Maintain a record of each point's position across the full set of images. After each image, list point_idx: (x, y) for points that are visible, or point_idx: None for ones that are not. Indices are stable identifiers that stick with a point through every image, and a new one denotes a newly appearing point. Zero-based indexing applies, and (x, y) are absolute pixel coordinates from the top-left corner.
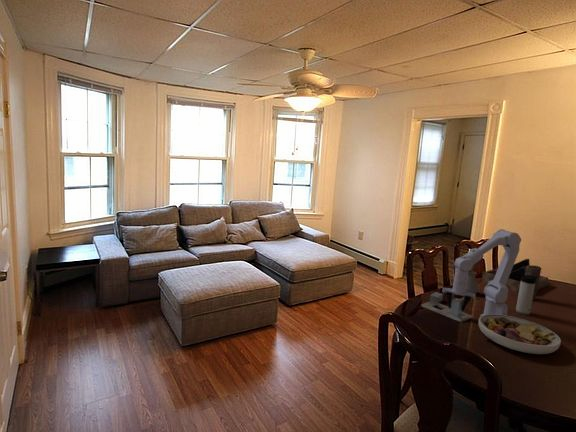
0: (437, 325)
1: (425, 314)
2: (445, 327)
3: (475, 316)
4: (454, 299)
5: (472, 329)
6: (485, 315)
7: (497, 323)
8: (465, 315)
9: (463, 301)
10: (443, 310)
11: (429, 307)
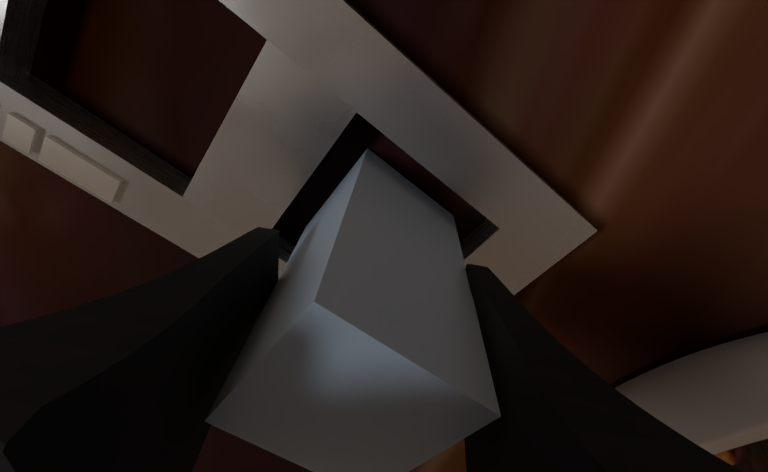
0: (210, 448)
1: (71, 304)
2: (264, 458)
3: (689, 131)
4: (273, 402)
5: (462, 442)
6: (710, 452)
7: (761, 451)
8: (496, 261)
9: (495, 402)
10: (217, 197)
11: (20, 148)
